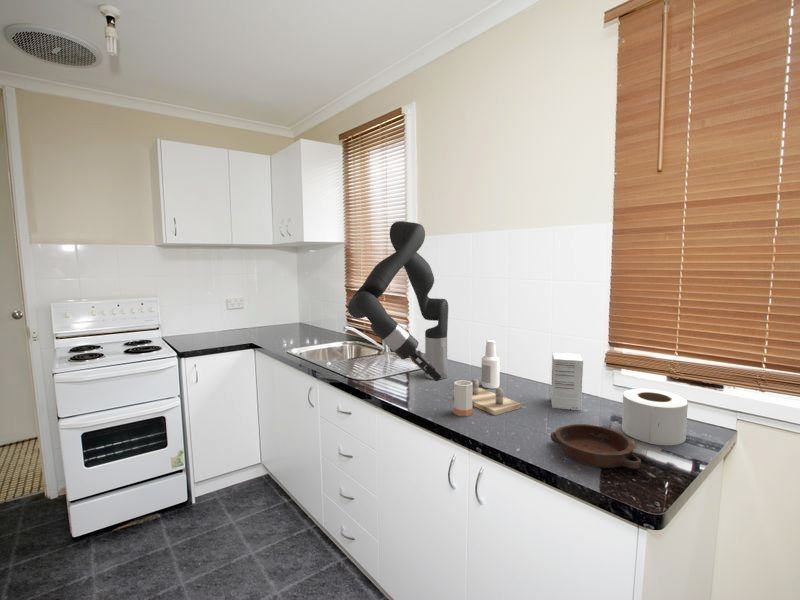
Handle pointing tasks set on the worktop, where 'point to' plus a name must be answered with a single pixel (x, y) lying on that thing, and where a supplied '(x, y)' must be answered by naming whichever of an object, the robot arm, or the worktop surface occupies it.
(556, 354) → the supplement box
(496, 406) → the pin board
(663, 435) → the white paper roll
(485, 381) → the spray bottle
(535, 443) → the worktop surface
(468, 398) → the sleeve
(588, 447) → the dish
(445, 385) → the worktop surface
